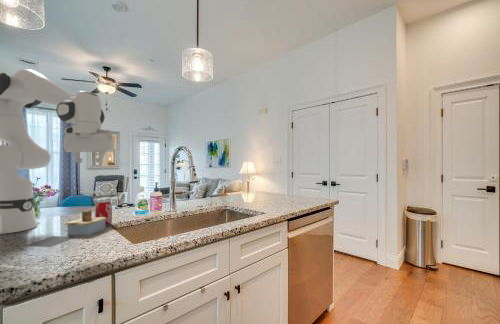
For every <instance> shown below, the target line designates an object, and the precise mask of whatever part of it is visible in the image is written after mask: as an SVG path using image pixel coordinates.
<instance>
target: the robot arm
mask: <svg viewBox="0 0 500 324" xmlns="http://www.w3.org/2000/svg"><path fill="white" fill-rule="evenodd" d="M41 103H45V104H51V105H53V106H54V105H55V106H56V115H57V117H58V118H59V119H60V121H62V122H65V123H69V124H74V125H71V126H69V127H66V128H64V132H63V133H64V134H66V135H64V137H63V150H64V151H65V152H66V153H72V156H73V158H74V159H75V163H76V164H77V163H83V158H81V157H80V154H81V153H97V152H98V155H99V156H98V157H96V158H95V161H96V163H98V164H99V163H100V164H101V163H103V159H104V157H105V155H106V152H107V153H108V152H113V151H114V141H113V132H112V131H110V130H109V129H102V124H103V123H104V121H105V118H106V117H105V113H104V111H103V109H102V105H101V104H102V103H101V98H100V96H99V95H97V94H96V93H93V92H89V91H85V90H78V91H77V92H76V94H75V95H74V94H71V93H70V92H68V91H67V90H65V88H64V89H63V88H62V87H60V86H59V85H58V84H56V83H55V82H54V81H52V80H50V79H49V78H48V77H46V76H45V75H43V74H42V73H39V72H38V71H35V70H33V69H29V68H24V69H23V68H22V69H19V70H17V71H16V72H15V74H14V75H8V74H7V73H6V72H0V140H1V141H2V142H5V143H7V144H8V145H4V144H3V145H0V235H3V234H11V233H18V232H23V231H28V230H32V229H35V228H37V227H38V224H39V222H38V221H37V218H36V210H35V208H34V205H35V199H34V197H33V196H34V195H33V182H32V180H30V179H29V178H27V177H24V176H21V175H20V174H19V173H18V170H35V169H41V168H45V167H47V166H48V165H49V164H50V163H51V154H50V152H49V151H48V150H47V149H45V148H43V147H42V146H40V145H39V144H38V143H36V142H35V141H34V140H33V139H32V137H31V136H30V134H29V133H28V129H27V126H26V122H25V118H24V114H23V108H26V109H32V107H37V106H38V105H40V104H41Z"/></svg>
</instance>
